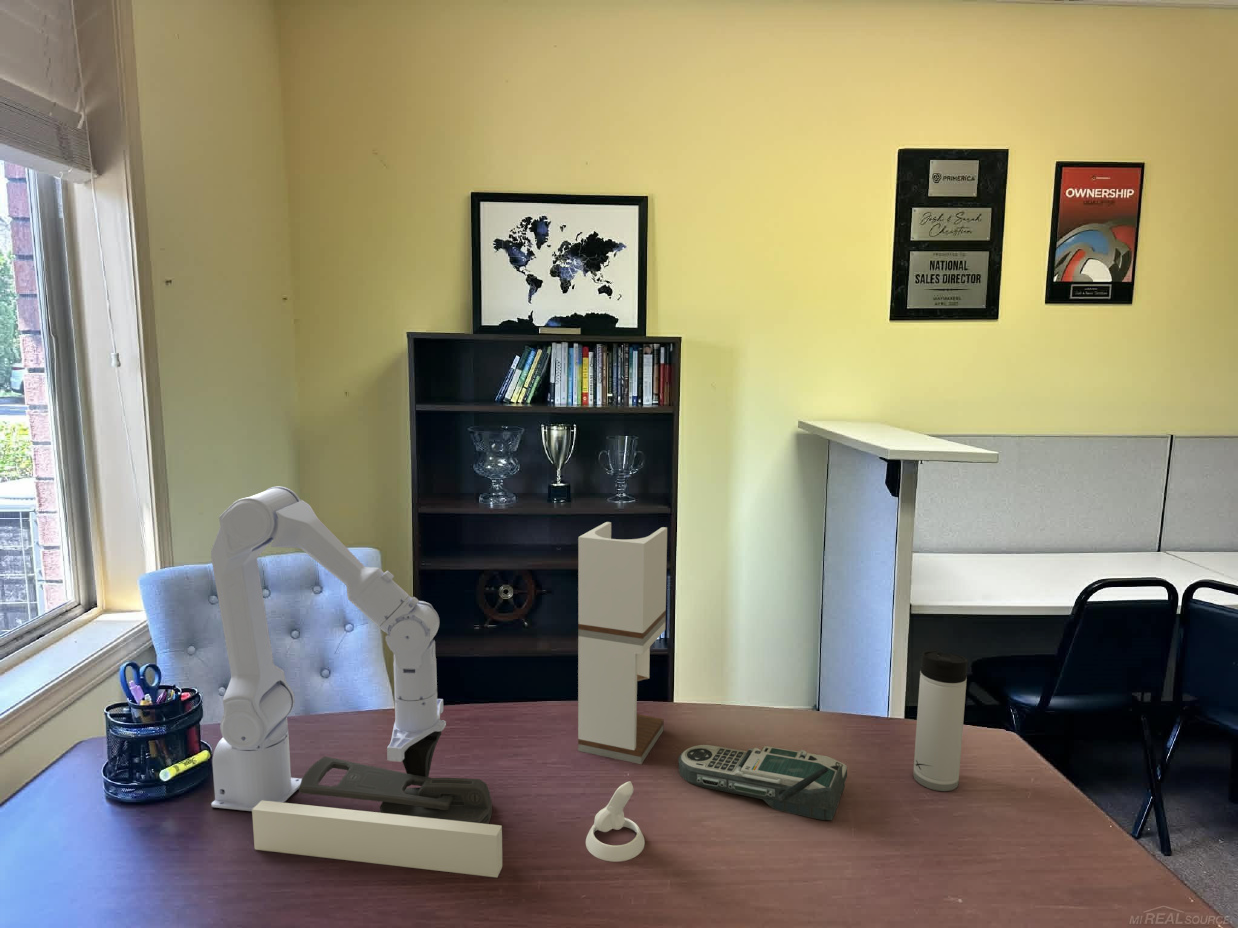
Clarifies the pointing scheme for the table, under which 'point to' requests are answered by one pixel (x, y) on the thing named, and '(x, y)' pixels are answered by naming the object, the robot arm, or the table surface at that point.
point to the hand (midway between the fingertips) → (418, 782)
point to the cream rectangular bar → (378, 838)
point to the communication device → (769, 777)
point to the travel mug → (940, 720)
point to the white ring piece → (615, 820)
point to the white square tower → (618, 639)
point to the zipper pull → (404, 791)
